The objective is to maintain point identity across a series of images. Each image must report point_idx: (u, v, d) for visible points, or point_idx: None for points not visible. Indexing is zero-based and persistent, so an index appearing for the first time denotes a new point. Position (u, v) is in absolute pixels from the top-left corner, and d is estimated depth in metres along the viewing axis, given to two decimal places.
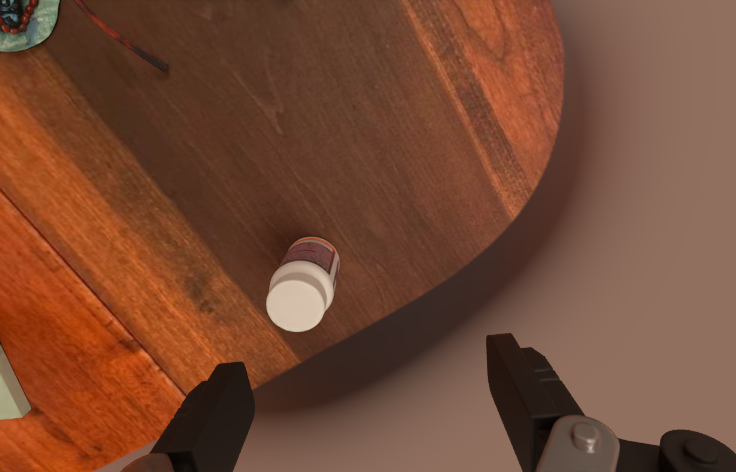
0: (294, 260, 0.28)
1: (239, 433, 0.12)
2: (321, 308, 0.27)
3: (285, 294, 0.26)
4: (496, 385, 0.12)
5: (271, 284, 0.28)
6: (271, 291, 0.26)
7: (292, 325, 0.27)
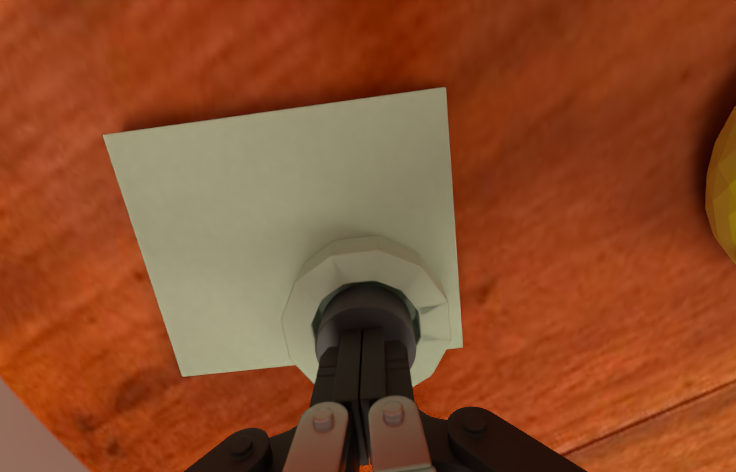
0: None
1: None
2: None
3: None
4: None
5: None
6: None
7: None
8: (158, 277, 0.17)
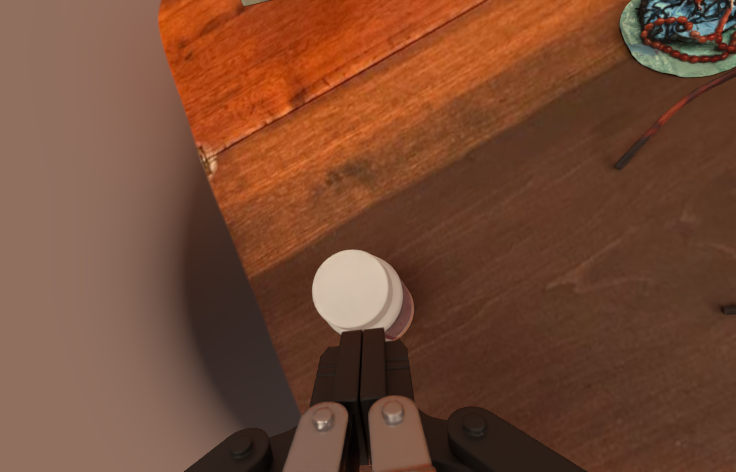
0: (402, 290, 0.22)
1: None
2: (343, 323, 0.19)
3: (368, 276, 0.19)
4: None
5: (374, 258, 0.22)
6: (374, 258, 0.20)
7: (322, 281, 0.20)
8: None
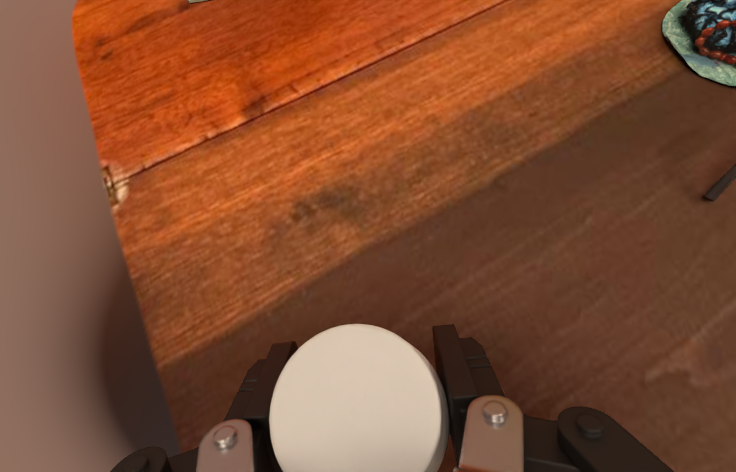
0: (447, 402, 0.11)
1: None
2: None
3: (394, 383, 0.09)
4: (439, 372, 0.13)
5: None
6: (403, 342, 0.09)
7: (292, 395, 0.09)
8: None
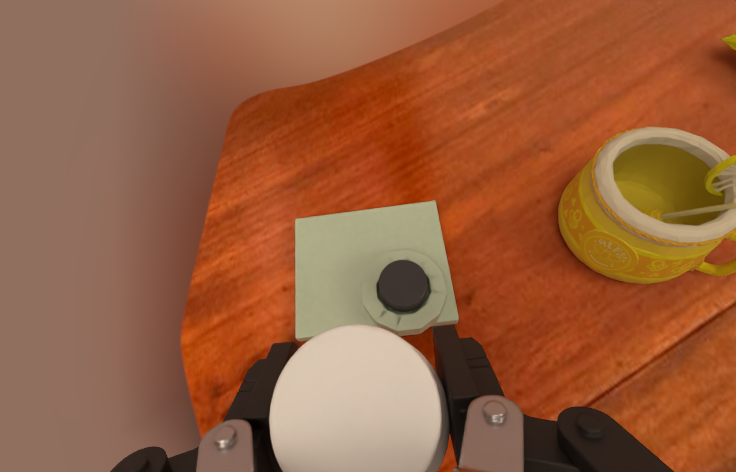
0: (447, 402, 0.11)
1: None
2: None
3: (394, 383, 0.09)
4: (439, 372, 0.13)
5: None
6: (404, 343, 0.09)
7: (292, 395, 0.09)
8: (299, 278, 0.33)
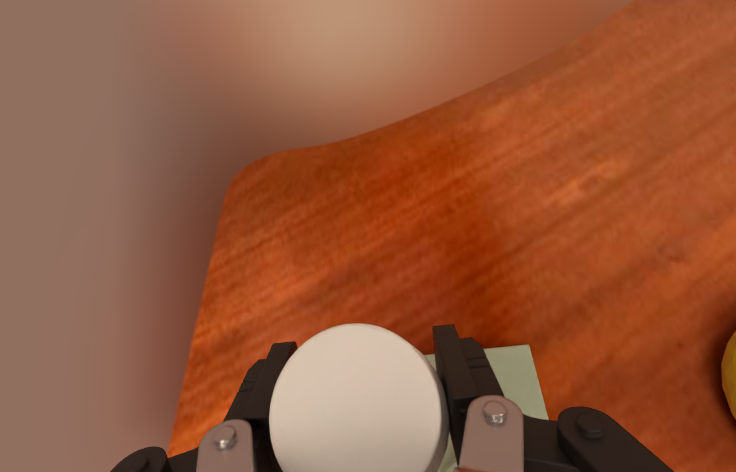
0: None
1: None
2: None
3: (394, 382, 0.09)
4: (439, 372, 0.13)
5: None
6: (403, 342, 0.09)
7: (292, 394, 0.09)
8: None
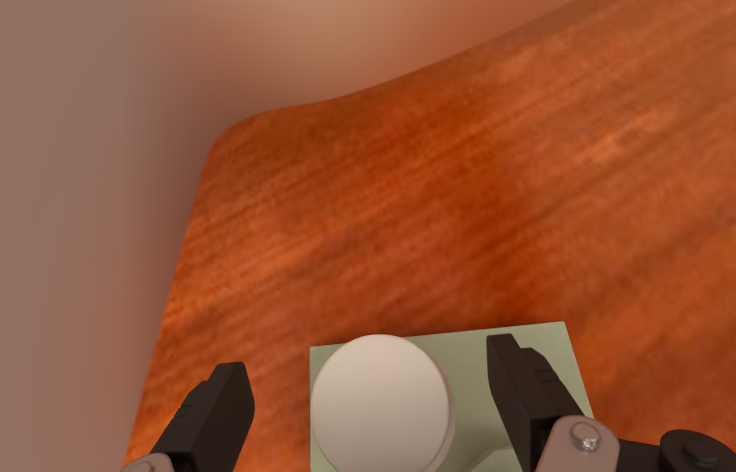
0: (453, 399, 0.13)
1: (239, 433, 0.12)
2: None
3: (411, 383, 0.11)
4: (496, 385, 0.12)
5: None
6: (418, 350, 0.12)
7: (328, 392, 0.11)
8: None
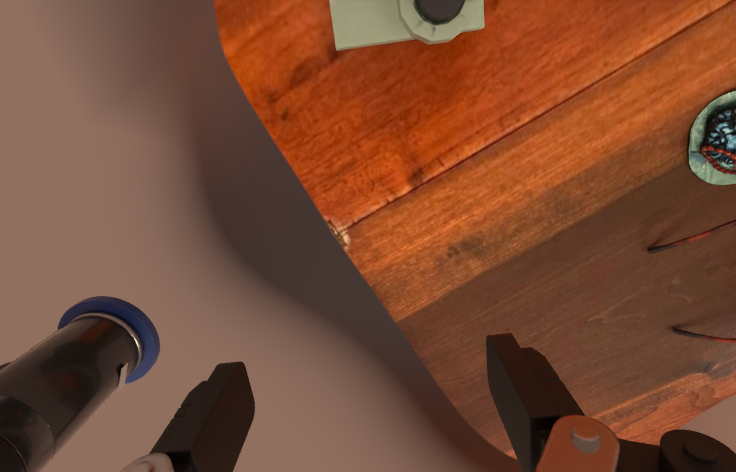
0: None
1: (239, 433, 0.12)
2: None
3: None
4: (496, 385, 0.12)
5: None
6: None
7: None
8: None
